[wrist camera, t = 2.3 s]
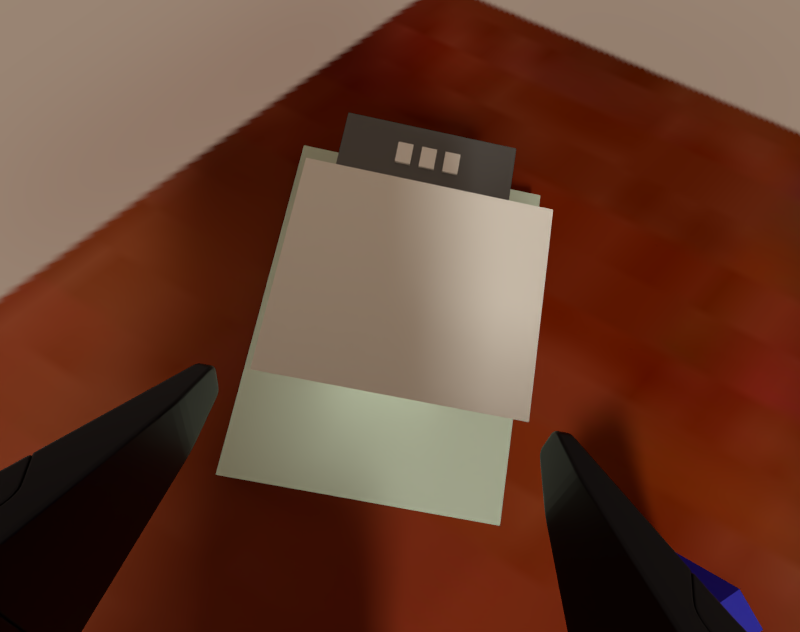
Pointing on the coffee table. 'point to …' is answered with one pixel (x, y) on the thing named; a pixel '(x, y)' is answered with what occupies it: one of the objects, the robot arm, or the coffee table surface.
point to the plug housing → (408, 291)
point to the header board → (366, 411)
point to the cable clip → (726, 597)
